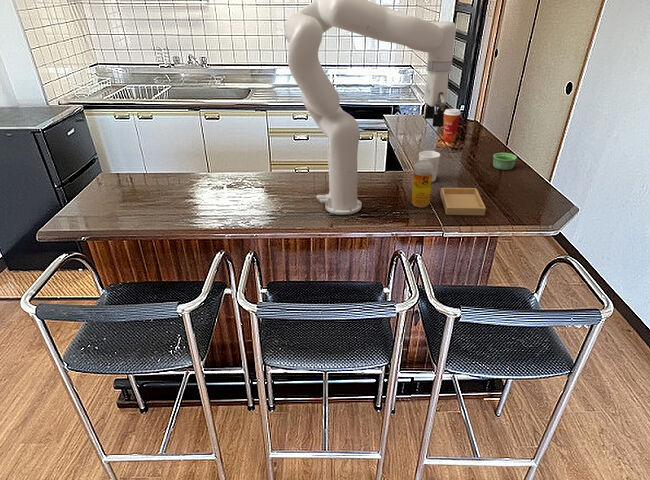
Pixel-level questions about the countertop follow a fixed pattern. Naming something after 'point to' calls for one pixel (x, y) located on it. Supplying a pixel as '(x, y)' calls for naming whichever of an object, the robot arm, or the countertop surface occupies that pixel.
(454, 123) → the paper cup
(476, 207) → the tray
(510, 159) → the ramekin
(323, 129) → the robot arm
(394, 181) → the countertop surface
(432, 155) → the white cup
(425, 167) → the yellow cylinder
